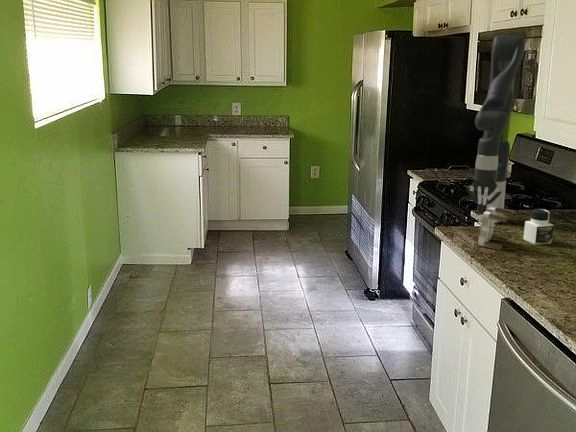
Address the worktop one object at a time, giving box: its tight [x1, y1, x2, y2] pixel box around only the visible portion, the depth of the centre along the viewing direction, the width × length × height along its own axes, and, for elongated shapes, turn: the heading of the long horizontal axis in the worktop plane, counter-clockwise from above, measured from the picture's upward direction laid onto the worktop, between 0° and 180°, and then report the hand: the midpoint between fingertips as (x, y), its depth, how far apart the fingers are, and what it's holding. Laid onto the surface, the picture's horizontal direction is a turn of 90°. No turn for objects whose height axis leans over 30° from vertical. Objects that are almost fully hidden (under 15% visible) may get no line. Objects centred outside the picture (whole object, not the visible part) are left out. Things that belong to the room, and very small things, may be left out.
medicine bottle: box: [523, 208, 554, 246], centre depth 223 cm, size 7×7×12 cm
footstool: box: [477, 206, 514, 251], centre depth 220 cm, size 12×8×12 cm, turn 149°
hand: (481, 214), depth 221 cm, fingers closed
